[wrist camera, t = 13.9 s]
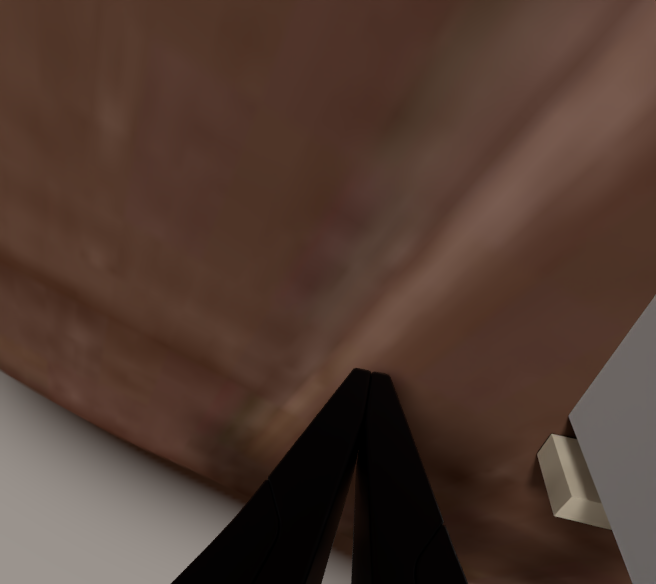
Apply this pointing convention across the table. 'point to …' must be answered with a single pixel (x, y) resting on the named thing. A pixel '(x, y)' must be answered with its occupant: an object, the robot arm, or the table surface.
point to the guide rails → (570, 482)
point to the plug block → (625, 444)
